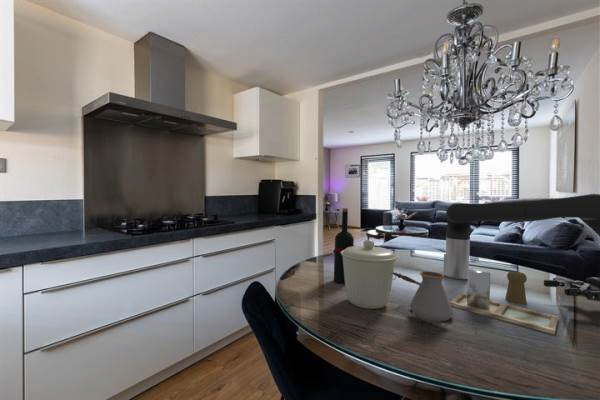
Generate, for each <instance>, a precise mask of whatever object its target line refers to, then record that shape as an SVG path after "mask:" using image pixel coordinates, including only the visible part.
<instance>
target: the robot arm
mask: <svg viewBox="0 0 600 400" xmlns="http://www.w3.org/2000/svg"><path fill="white" fill-rule="evenodd" d="M445 215H446V217H447V218H446V219H447V221H446V222H447V224H446V230H445V231H446V232H445V233H446V235H445V254H443V269H442V270H443V273H442V275H444V277H447V278H449V279H450V278H451V279H455V280H468V270H469V269H470V248H471V245H470V244H471V228H472V227H471V223H473V222H475V223H476V222H482V221H483V222H499V223H500V222H502V223H503V222H504V223H522V222H523V223H524V222H525V223H526V222H537V221H545V220H551V219H558V218H559V219H561V218H575V219H576V218H578V219H579V220H581V221H582V222H583V223H584V224H585V225H587V226H588V227H589V228H590V229H591V230H592V231H593V232H594V233H595V234H597V235H598V237H599V238H600V193H588V194H582V195H575V196H573V195H572V196H566V197H554V198H553V197H540V198H539V197H537V198H535V197H534V198H533V197H532V198H531V197H530V198H515V199H514V198H513V199H512V198H511V199H504V200H503V199H502V200H496V201H490V202H482V203H467V202H466V203H465V202H460V201H458V202H454V203H452V204H450V205H449V206H448V207H447V209H446V214H445ZM543 286H544V287H549V288H561V289H564V290H563V292H564V293H563V294H564V295H565V296H569V297H571V296H572V297H580V298H582V299H583V298H586V300H589V301H593V302H600V277H595V276H594V277H593V276H592V277H588V278H586V279H585V280H584V281H581V280H574V279H572V278H559V277H553V278H552V279H543Z"/></svg>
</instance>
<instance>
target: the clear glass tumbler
mask: <svg viewBox="0 0 600 400" xmlns="http://www.w3.org/2000/svg"><path fill="white" fill-rule="evenodd" d="M491 274H492V273H491V272H490V271H487V270H483V269H477V268H469V270H468V279H467V288H466V289H467V291H466V294H467V305H468V306H471V307H475V308H478V309H482V310H488V309H489V302H490V300H491V299H490V298H491V297H490V295H491V293H490V292H491Z"/></svg>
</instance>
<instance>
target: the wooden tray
mask: <svg viewBox="0 0 600 400" xmlns="http://www.w3.org/2000/svg"><path fill="white" fill-rule="evenodd" d="M449 302H450V305H451V307H454V308H457V309H460V310H466V311H469V312H472V313H475V314H480V315H483V316H487V317H489V318H490V317H491V318H494V319H497V320H501V321H504V322H508V323H512V324H515V325H519V326H523V327H526V328H528V329H533V330H536V331H539V332H543V333H547V334H551V335H553V336H555V334H556V330H557V326H558V323H559V316H558V315H553V314H551V313H547V312H546V313H545V312H542V311H537V310H533V309H530V308H529V309H528V308H524V307H522V306H517V305H513V304H508V303H504V302H501V301H496V300H492V299H490V302H489V309H488V310H482V309H478V308H475V307H471V306H468V305H467V293H463V292H461V293H459V294H458V295H457V296H456V297H454V298H453V299H452V300H449Z"/></svg>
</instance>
